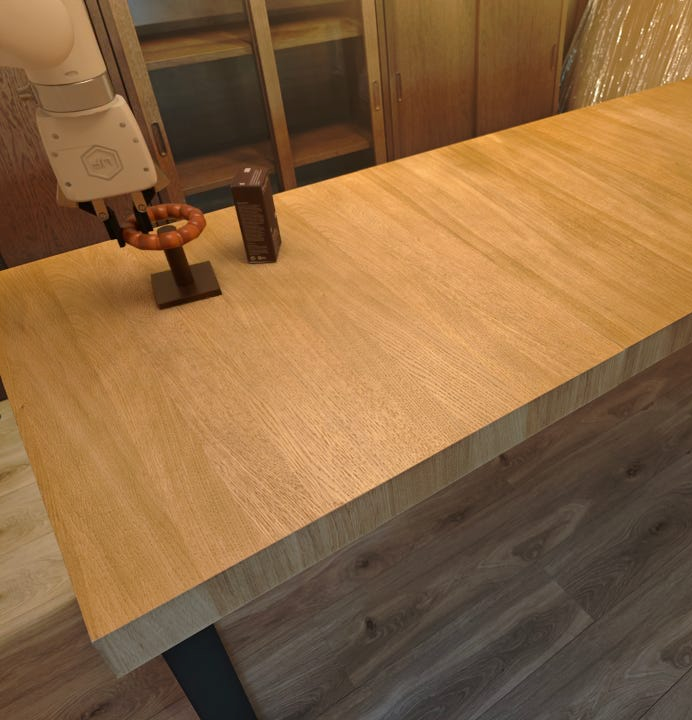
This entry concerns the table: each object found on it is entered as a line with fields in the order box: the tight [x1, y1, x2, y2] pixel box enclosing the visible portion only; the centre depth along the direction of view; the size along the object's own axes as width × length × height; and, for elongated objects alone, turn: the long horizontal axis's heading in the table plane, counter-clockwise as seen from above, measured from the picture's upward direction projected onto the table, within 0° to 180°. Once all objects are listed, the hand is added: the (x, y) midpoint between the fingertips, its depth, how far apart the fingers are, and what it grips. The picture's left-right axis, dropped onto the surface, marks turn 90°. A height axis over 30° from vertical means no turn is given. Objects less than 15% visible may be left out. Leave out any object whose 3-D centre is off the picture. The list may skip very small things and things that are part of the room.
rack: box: [150, 224, 223, 311], centre depth 86 cm, size 8×8×9 cm
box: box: [230, 167, 283, 264], centre depth 92 cm, size 6×4×12 cm
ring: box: [120, 203, 207, 252], centre depth 83 cm, size 10×10×2 cm
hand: (134, 238), depth 82 cm, fingers closed on ring, 2 cm apart
